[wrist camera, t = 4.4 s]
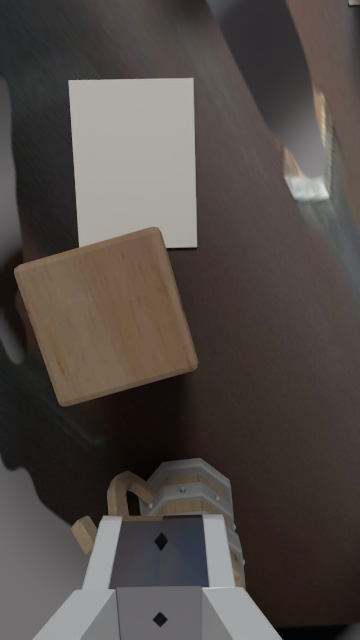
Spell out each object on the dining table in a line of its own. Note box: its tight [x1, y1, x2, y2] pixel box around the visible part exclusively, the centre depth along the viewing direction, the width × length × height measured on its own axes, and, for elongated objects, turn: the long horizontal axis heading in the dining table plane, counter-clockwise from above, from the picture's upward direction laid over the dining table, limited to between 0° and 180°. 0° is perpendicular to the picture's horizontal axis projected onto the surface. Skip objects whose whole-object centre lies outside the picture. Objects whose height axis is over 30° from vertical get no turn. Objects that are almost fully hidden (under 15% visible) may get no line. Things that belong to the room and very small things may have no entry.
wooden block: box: [14, 227, 198, 406], centre depth 30 cm, size 10×10×20 cm
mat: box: [69, 78, 197, 248], centre depth 37 cm, size 20×15×1 cm
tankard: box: [71, 458, 246, 591], centre depth 35 cm, size 20×13×15 cm, turn 51°
